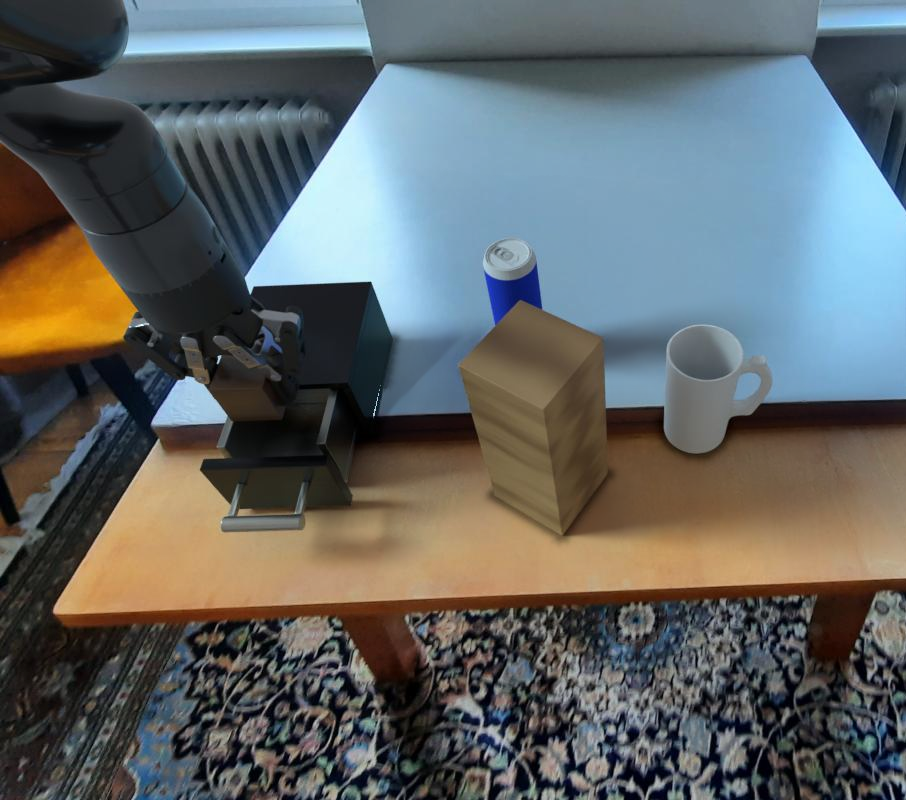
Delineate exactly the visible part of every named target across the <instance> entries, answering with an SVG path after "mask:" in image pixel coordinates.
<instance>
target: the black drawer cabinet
mask: <svg viewBox="0 0 906 800" xmlns="http://www.w3.org/2000/svg"><path fill="white" fill-rule="evenodd" d="M250 295H251V296H252V297H253V298H254V299H256V300H257V301H258V302H260V303H261V304H262V305H263V306H264V308H265V310H270V311H277V312H283V313H285V312H286V309H287V307H288V306H297V307H299V308H300V309H301V310H302V312H303V323H304V333H305V343H306V354H305V356H304V358H303V362H302V365H301V371H300V374H299V375H298V376H295V377H296V378H297V380H298V382H299V383H300V385H299V390H304V389H332V388H342V389H343V391H344V393H345V395H346V397H347V399H348V401H349V403H350V405H351V407H352V409H353V411H354V413H355V415H356V417H357V419H358V421H359V423H360V425H359V429H358V434H357V438H373V437H375V434H376V433H375V432H376V429H377V424H378V418H379V412H380V407H381V404H382V403H381V402H382V397H383V392H384V387H385V381H386V377H387V371H388V366H389V361H390V357H391V356H390V355H391V351H392V347H393V346H392V345H393V340H394V338H393V335H392V333H391V331H390V328H389V325H388V322H387V319H386V316H385V313H384V312H383V309H382V307H381V303H380V301H379V298H378V296H377V293H376V291H375V288H374V284H373V283H372V281H350V282H328V283H325V282H324V283H323V282H322V283H304V284H302V283H301V284H300V283H299V284H275V285H254V286H253V287H252V289H251V292H250ZM264 327H265V326H264ZM265 328H266V329H267V330H268V331H269V332H270V333H271V334H272V336H273V340H274V342H275V343H276V344H277V345H278V346H279V347H280V348H281V342H277V341H275V336H274V335H273V333H272V331H271V330H270V329H269V328H267V327H265ZM380 385H381V386H380ZM379 389H380V391H379ZM378 393H379V396H378ZM377 397H378V401H377ZM376 401H377V406H376ZM375 406H376V411H375V416H374V419H373V413H374V409H375Z"/></svg>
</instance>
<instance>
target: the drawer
mask: <svg viewBox="0 0 906 800" xmlns="http://www.w3.org/2000/svg"><path fill="white" fill-rule="evenodd" d="M359 425H360V423H359V421H358V419H357V417H356V415H355V413H354V411H353V409H352V407H351V405H350V403H349V401H348V399H347V397H346V395H345V393H344V391H343V389H342V388H332V389H304V390H298V394H297V397H296V400H294V401H293V404H292V405H290V406H286V408H285V412H284V415H283V419H282V420H256V421H231V420H230V418H229V417H228V416H227V417H226V419H225V422H224V425H223V428H222V431H221V434H220V437H219V439H218V442H217V445H216V448H217V450H218V451H219V452H220V454H221V455H222V456H223V458H219V457H217V458H202V459H203V460H202V461H201V465H200V467H199V472H201V473H202V475H203V477H205V478H206V480H207V481H209V483H210V484H211V485H212V486H213V487H214V488H215V490H216V491H217V492H218V493H219V494H220V495H221V496H222V498H224V500H225V501H226V502H227V503H228V504H229V505H230V506H229V510H228V513H227V516H223V517H222V518H221V520H220V530H221V532H222V533H225V534H227V533H258V532H261V533H263V532H290V531H291V532H292V531H293V532H295V531H303V530H304V529H305V527H306V516H305V515H304V514H305V511H306V508H326V507H327V508H328V507H329V508H331V507H351V506H352V502H353V498H354V497H353V496H354V495H353V493H352V491H351V489H350V488H349V486H348V484H347V483H348V481H349V476H350V472H351V467H352V462H353V458H354V454H355V453H354V452H355V447H356V444H357V439H358V437H357V434H358V429H359ZM293 508H295V510H294V514H293V513H292V514H264V515H263V514H261V515H239V512H240V510H262V509H264V510H267V509H293Z"/></svg>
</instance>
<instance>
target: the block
mask: <svg viewBox="0 0 906 800" xmlns="http://www.w3.org/2000/svg"><path fill="white" fill-rule="evenodd" d="M267 358H268V360H269V361H270V360H271V358H270V357H269V356H268V355H267ZM217 364H218V366H217V369H216V372H215V374H214V377H213V380H212V382H211V385H210V388H209V391H210V392H209V391H208V392H209V394H210V393H211V394H212V395H213V396H212V395H211V394H210V395H211V396H212V398H213V397H214V398H215V399H216V400H215V399H214V398H213V399H214V400H215V401H216V403H218V405H219V406H220V408H221V409H222V410H223V412H224V413H225V414H226V415H227V416H228V417H229V418H230V420H231V421H256V420H282V419H283V415H284V412H285V408H286V406H283V405H282V403H281V402H280V400H279V399H278V397H277V395H276V394H275V392H274V391H273V389H272V387H271V386H270V384H269V383H268V381H269V379H268V378H266V377H265V376H264V375H263V374H262V373H261V372H259V371H258V370H257V369H256V368H252V369H249V368H248V367H246V366H245V365H244V364H243V363H242V362H241V361H239V360H238V359H237V358H236V357H235V356H230V355H221V356H220V358H219V360H218V363H217Z"/></svg>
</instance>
